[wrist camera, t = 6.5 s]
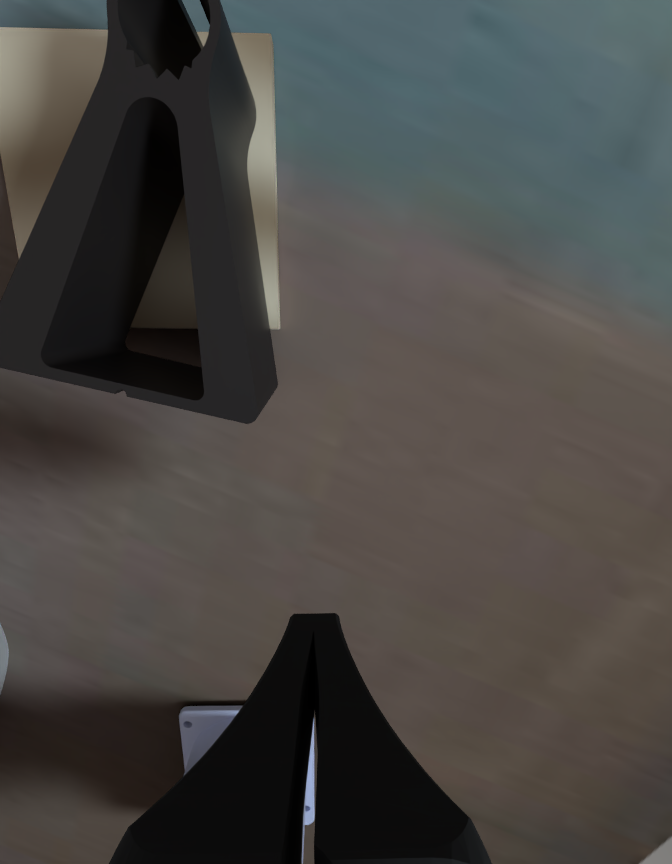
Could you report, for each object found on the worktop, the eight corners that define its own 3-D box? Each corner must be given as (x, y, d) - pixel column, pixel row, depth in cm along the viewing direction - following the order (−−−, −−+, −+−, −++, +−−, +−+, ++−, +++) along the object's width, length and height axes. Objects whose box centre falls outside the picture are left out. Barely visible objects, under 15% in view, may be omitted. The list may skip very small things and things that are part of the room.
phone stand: (-23, 362, 14) (-11, -111, 11) (82, 347, 20) (108, 37, 16) (255, 426, 14) (341, -3, 11) (276, 393, 20) (337, 103, 17)
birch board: (280, 328, 20) (278, 329, 19) (42, 326, 20) (30, 326, 19) (273, 46, 17) (270, 33, 16) (-6, 39, 17) (-22, 26, 16)
